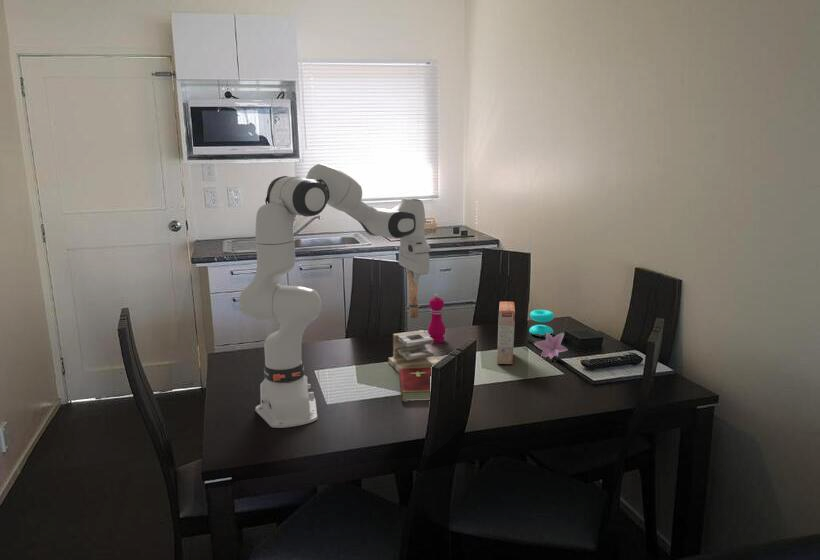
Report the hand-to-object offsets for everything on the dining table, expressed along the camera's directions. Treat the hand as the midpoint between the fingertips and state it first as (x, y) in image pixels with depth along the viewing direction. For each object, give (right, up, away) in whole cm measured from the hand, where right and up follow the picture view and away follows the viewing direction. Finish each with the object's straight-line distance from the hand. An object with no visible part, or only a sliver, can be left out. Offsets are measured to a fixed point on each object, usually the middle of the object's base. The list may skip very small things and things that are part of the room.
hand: (413, 282), depth 225 cm
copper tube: (0, -13, +3) cm, 13 cm away
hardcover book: (+2, -36, -14) cm, 39 cm away
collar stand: (+1, -31, +7) cm, 32 cm away
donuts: (+54, -23, +41) cm, 72 cm away
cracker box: (+35, -29, +13) cm, 47 cm away
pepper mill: (+10, -25, +35) cm, 44 cm away
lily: (+52, -29, +13) cm, 61 cm away
